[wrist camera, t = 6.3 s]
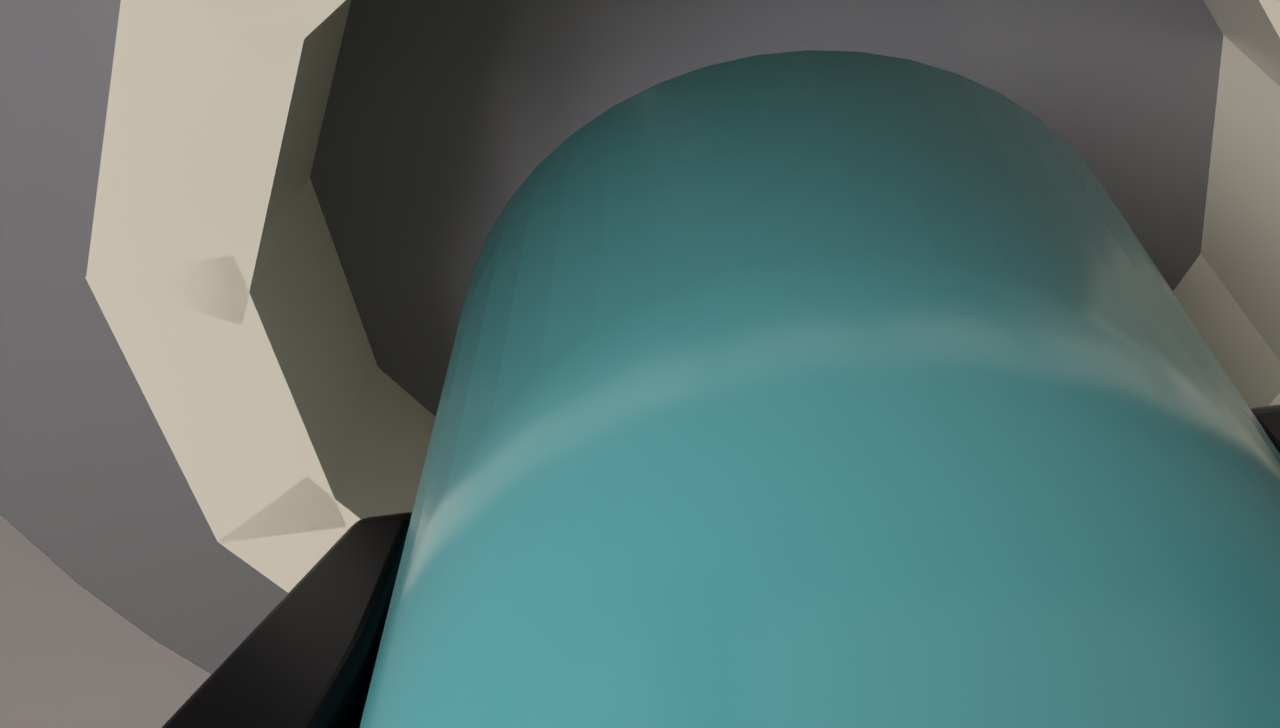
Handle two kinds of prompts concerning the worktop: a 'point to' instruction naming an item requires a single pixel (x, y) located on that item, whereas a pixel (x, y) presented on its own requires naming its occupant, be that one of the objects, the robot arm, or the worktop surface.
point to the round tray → (453, 233)
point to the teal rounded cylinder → (830, 435)
